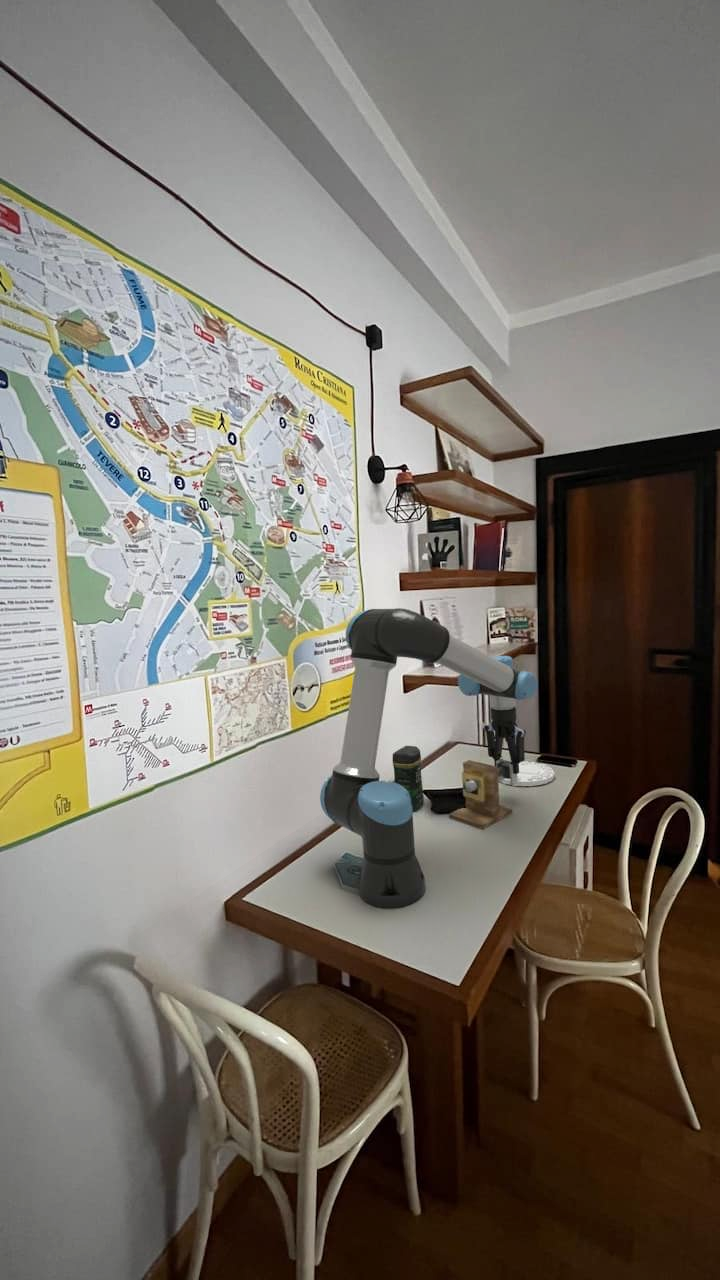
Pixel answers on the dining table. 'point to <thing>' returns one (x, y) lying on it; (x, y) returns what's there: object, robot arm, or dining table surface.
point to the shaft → (502, 773)
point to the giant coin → (532, 774)
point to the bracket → (477, 810)
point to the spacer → (482, 785)
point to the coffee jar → (409, 773)
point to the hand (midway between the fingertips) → (507, 781)
